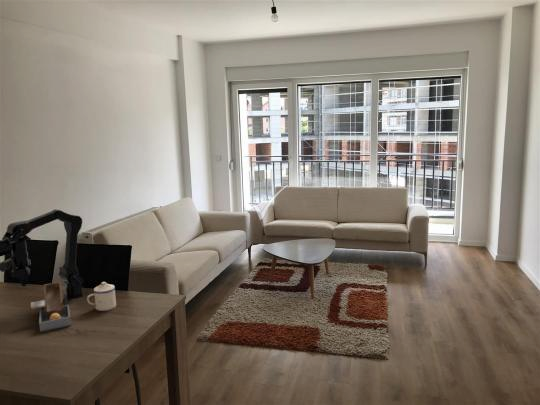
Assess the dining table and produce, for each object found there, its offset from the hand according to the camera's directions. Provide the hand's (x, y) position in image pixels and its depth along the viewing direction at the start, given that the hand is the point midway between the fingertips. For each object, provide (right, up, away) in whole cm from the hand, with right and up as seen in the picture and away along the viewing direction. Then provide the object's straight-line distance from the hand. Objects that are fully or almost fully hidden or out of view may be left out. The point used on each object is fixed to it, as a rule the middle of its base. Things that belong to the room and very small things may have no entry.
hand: (24, 286), depth 186 cm
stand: (+13, -12, +1) cm, 18 cm away
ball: (+19, -11, -11) cm, 25 cm away
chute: (+11, -8, -1) cm, 14 cm away
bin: (+19, -13, -9) cm, 25 cm away
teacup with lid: (+33, -11, +4) cm, 35 cm away
